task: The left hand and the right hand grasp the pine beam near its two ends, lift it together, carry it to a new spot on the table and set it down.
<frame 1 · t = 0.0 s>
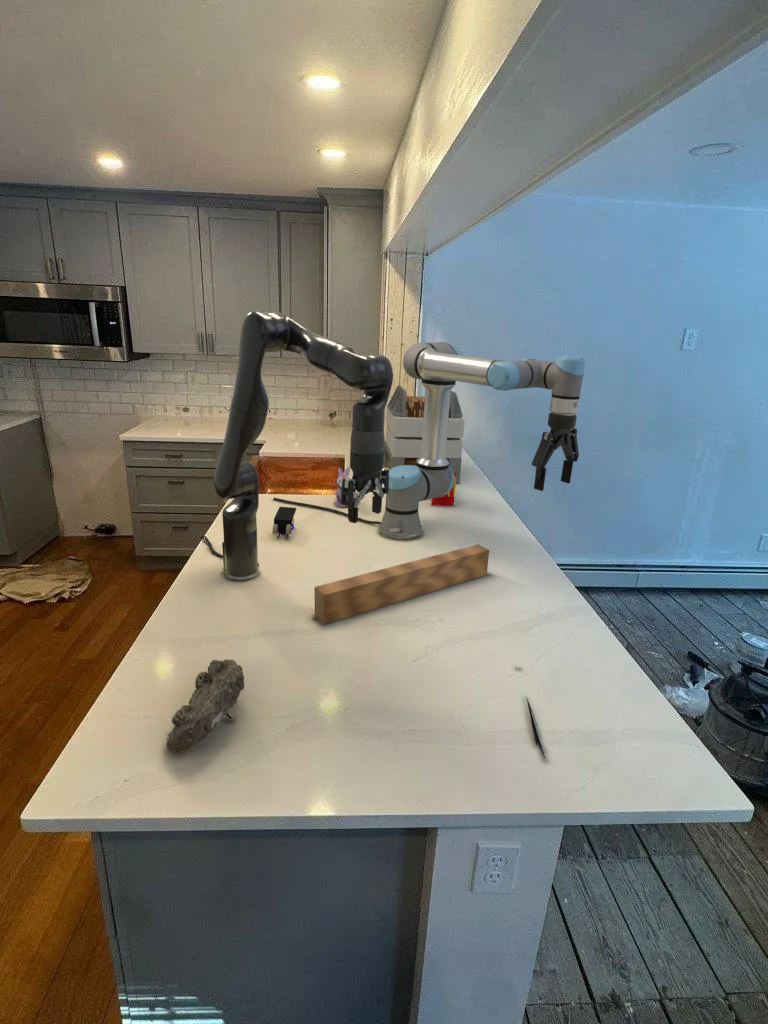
left hand: (365, 517, 130), 29 cm above the counter, tool pointing down, fingers open, 8 cm apart
right hand: (552, 485, 166), 28 cm above the counter, tool pointing down, fingers open, 13 cm apart
beam: (407, 593, 158), on the counter
fossil: (212, 717, 108), on the counter
figurine character: (284, 533, 196), on the counter
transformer: (419, 473, 275), on the counter
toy: (438, 495, 243), on the counter
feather: (529, 710, 114), on the counter
figurine: (345, 504, 227), on the counter
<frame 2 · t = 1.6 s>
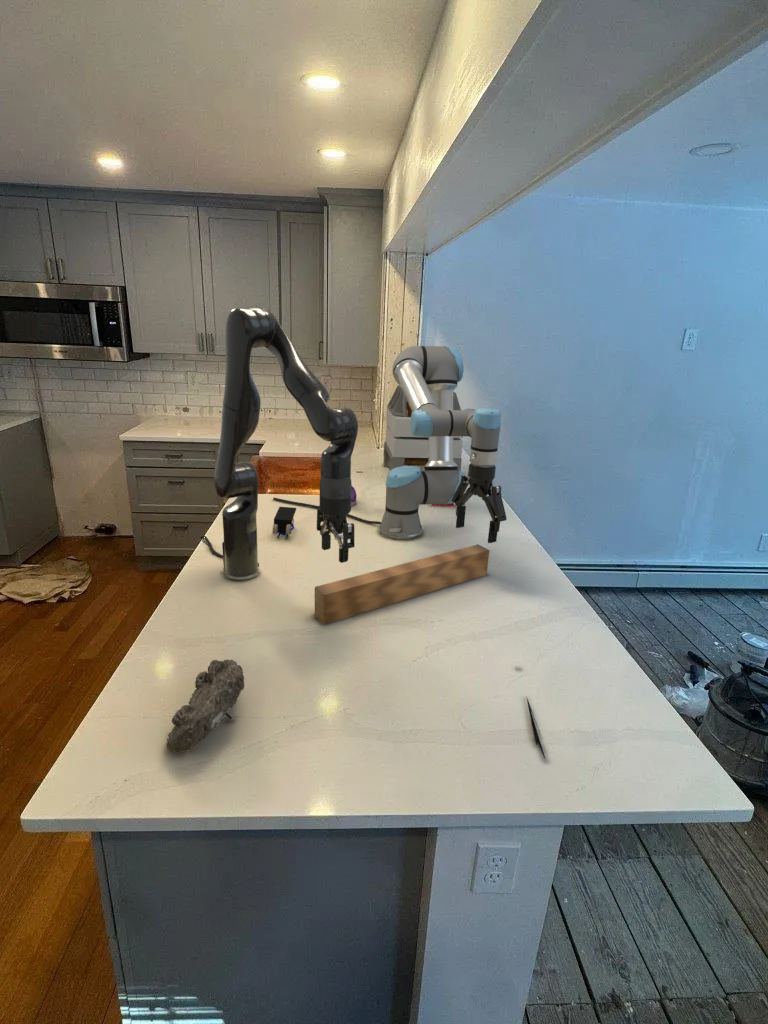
left hand: (334, 555, 140), 17 cm above the counter, tool pointing down, fingers open, 8 cm apart
right hand: (475, 534, 167), 13 cm above the counter, tool pointing down, fingers open, 13 cm apart
nothing on the counter moved.
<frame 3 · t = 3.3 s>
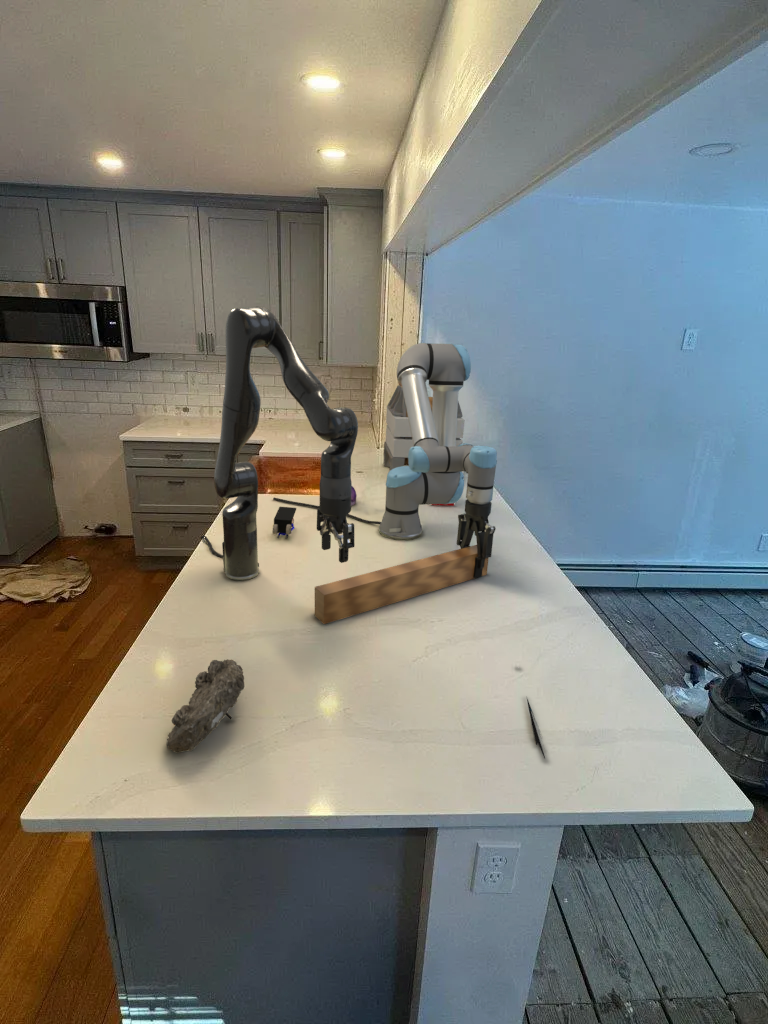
left hand: (334, 555, 140), 17 cm above the counter, tool pointing down, fingers open, 8 cm apart
right hand: (471, 573, 171), 1 cm above the counter, tool pointing down, fingers closed on beam, 5 cm apart
beam: (407, 593, 158), on the counter, touching right hand
everything else where it was.
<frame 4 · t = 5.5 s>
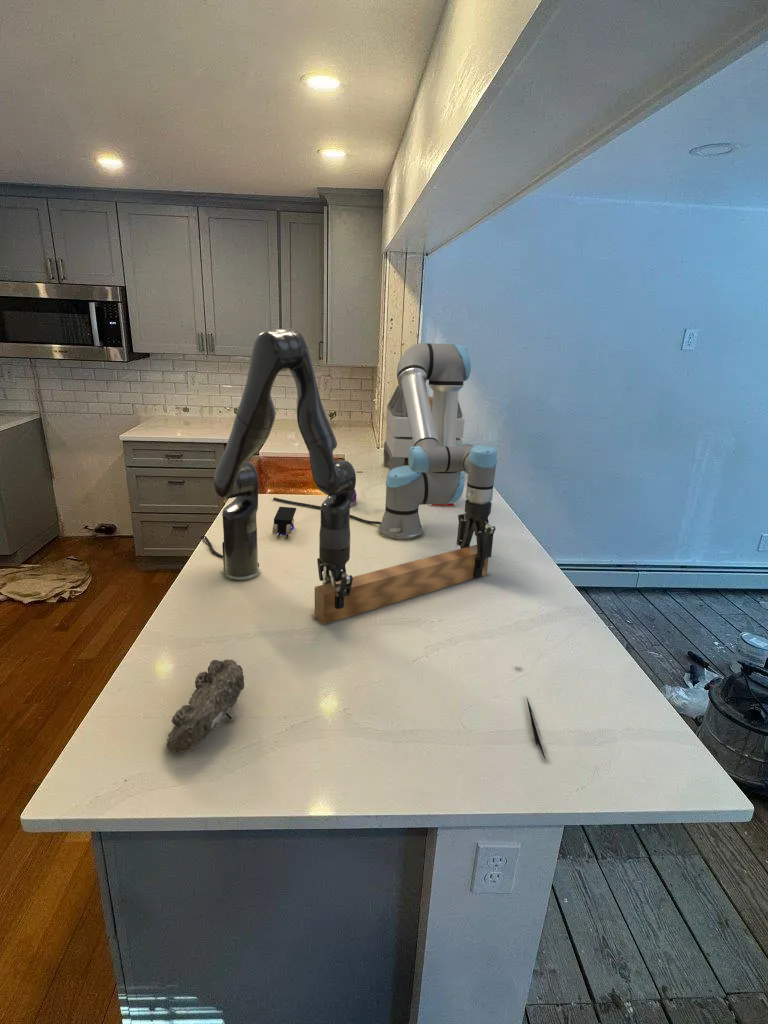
left hand: (333, 603, 144), 4 cm above the counter, tool pointing down, fingers closed on beam, 5 cm apart
right hand: (471, 573, 171), 1 cm above the counter, tool pointing down, fingers closed on beam, 5 cm apart
beam: (407, 593, 158), on the counter, touching right hand, left hand
everything else where it was.
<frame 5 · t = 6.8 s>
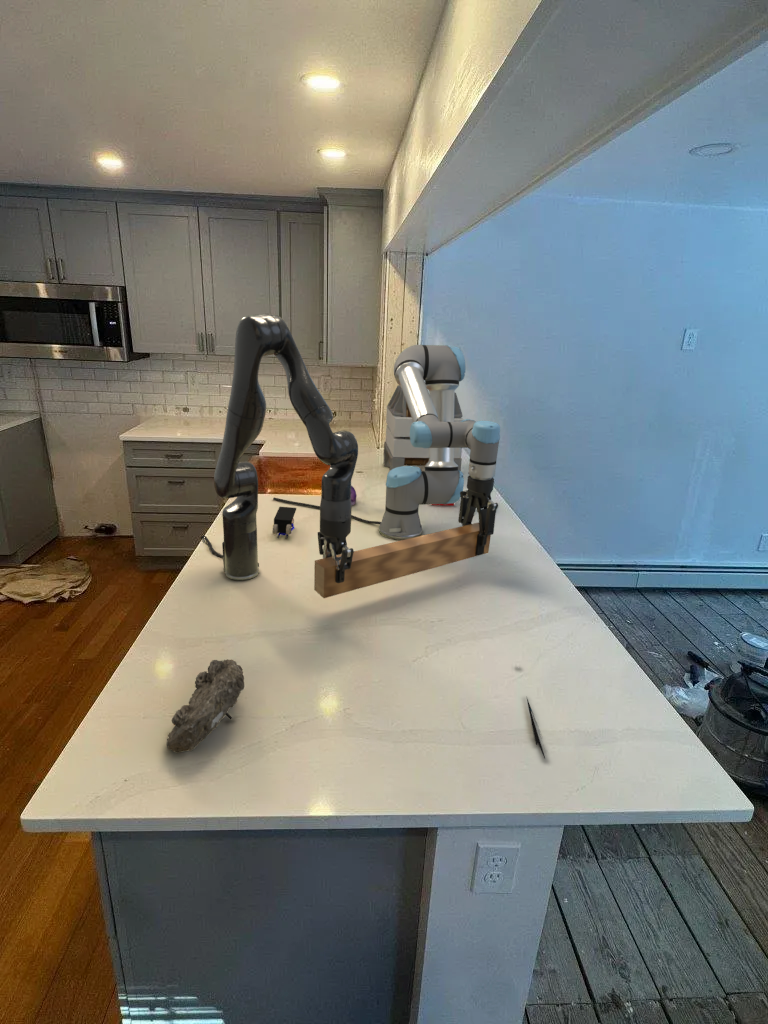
left hand: (334, 577, 142), 11 cm above the counter, tool pointing down, fingers closed on beam, 5 cm apart
right hand: (472, 550, 169), 8 cm above the counter, tool pointing down, fingers closed on beam, 5 cm apart
beam: (408, 569, 156), point 7 cm above the counter, touching right hand, left hand
everything else where it was.
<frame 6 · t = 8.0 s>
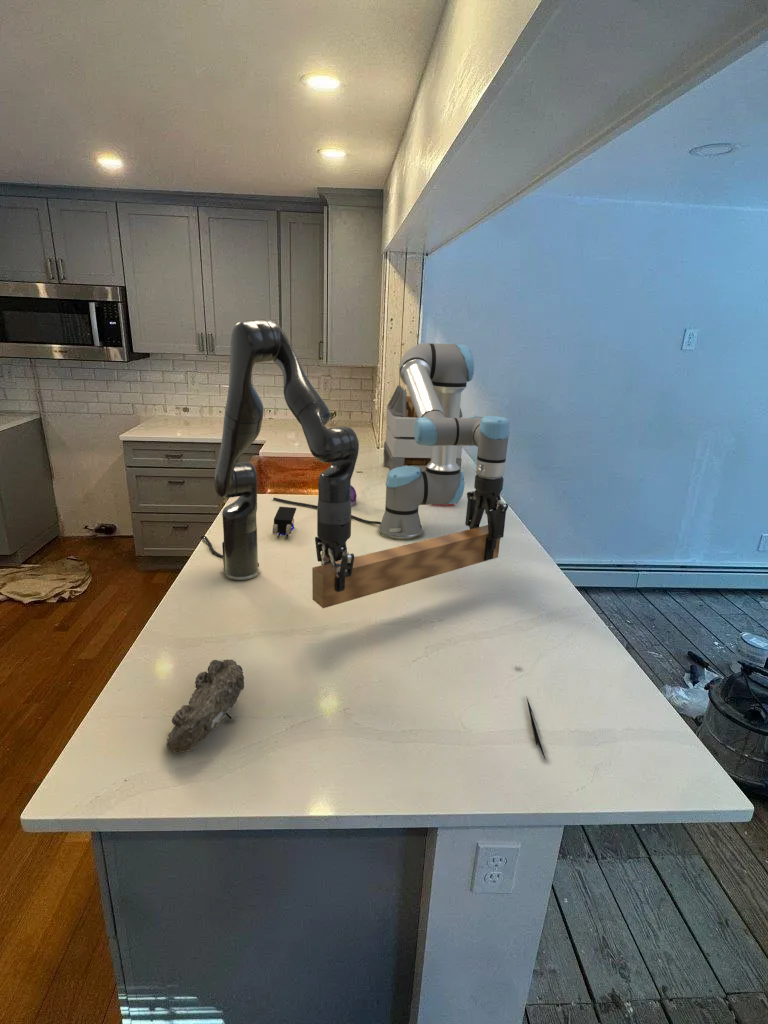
left hand: (333, 585, 131), 14 cm above the counter, tool pointing down, fingers closed on beam, 5 cm apart
right hand: (481, 555, 159), 11 cm above the counter, tool pointing down, fingers closed on beam, 5 cm apart
beam: (413, 576, 146), point 10 cm above the counter, touching right hand, left hand
everything else where it was.
when the right hand's fingers open (2 cm above the counter, at t = 10.2 s): beam drops 2 cm, on the counter.
when the left hand's fingers open (5 cm above the counter, at t = 10.4 s): beam stays where it is, on the counter.
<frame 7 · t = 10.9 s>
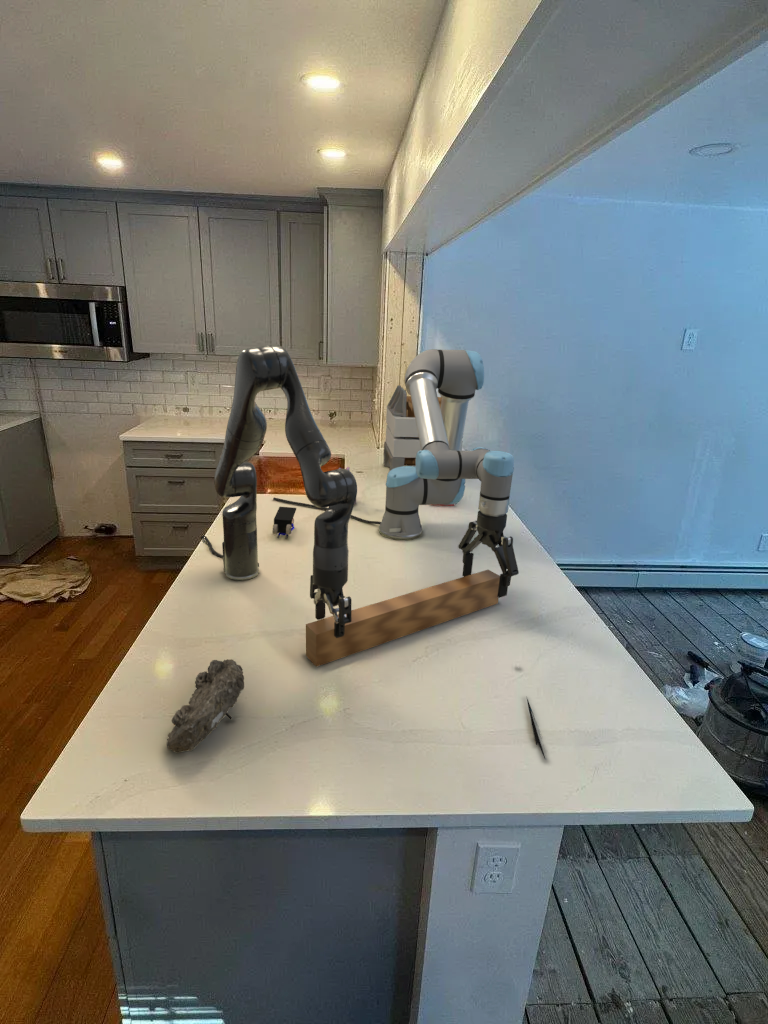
left hand: (329, 627, 126), 7 cm above the counter, tool pointing down, fingers open, 8 cm apart
right hand: (483, 585, 153), 5 cm above the counter, tool pointing down, fingers open, 13 cm apart
beam: (410, 627, 142), on the counter
everything else where it was.
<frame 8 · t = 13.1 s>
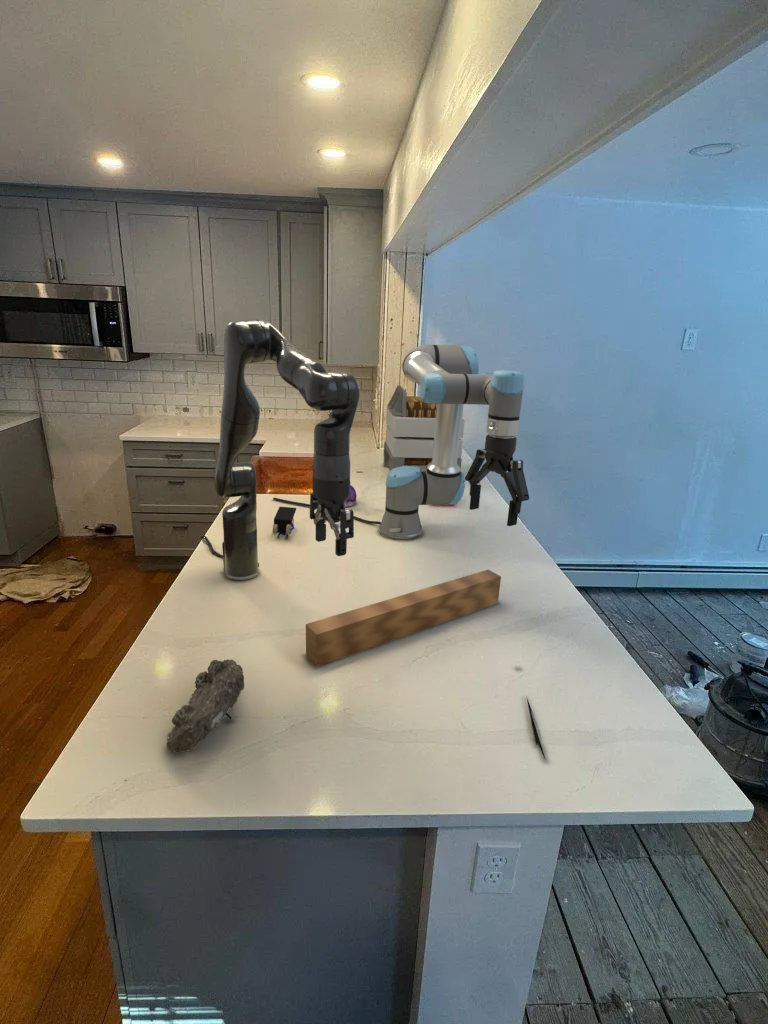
left hand: (330, 547, 120), 27 cm above the counter, tool pointing down, fingers open, 8 cm apart
right hand: (492, 516, 146), 25 cm above the counter, tool pointing down, fingers open, 13 cm apart
nothing on the counter moved.
at the end: beam inside the target area (0.4 cm from its centre), on the counter; beam tilted 0°; beam never tilted more than 2° during the clip; both hands held the beam at the same time; the left hand is holding nothing; the right hand is holding nothing; beam at rest at the end (0.0 cm/s) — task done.
